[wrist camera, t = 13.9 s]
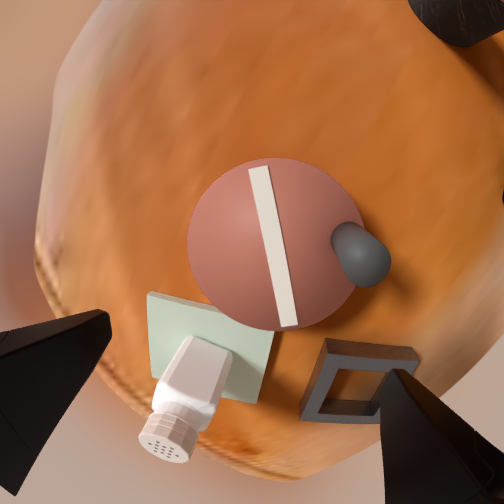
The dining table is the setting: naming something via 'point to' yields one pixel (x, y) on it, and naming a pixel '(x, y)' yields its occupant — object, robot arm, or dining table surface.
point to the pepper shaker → (186, 399)
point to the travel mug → (461, 19)
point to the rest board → (214, 331)
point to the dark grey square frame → (355, 359)
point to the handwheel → (281, 245)
